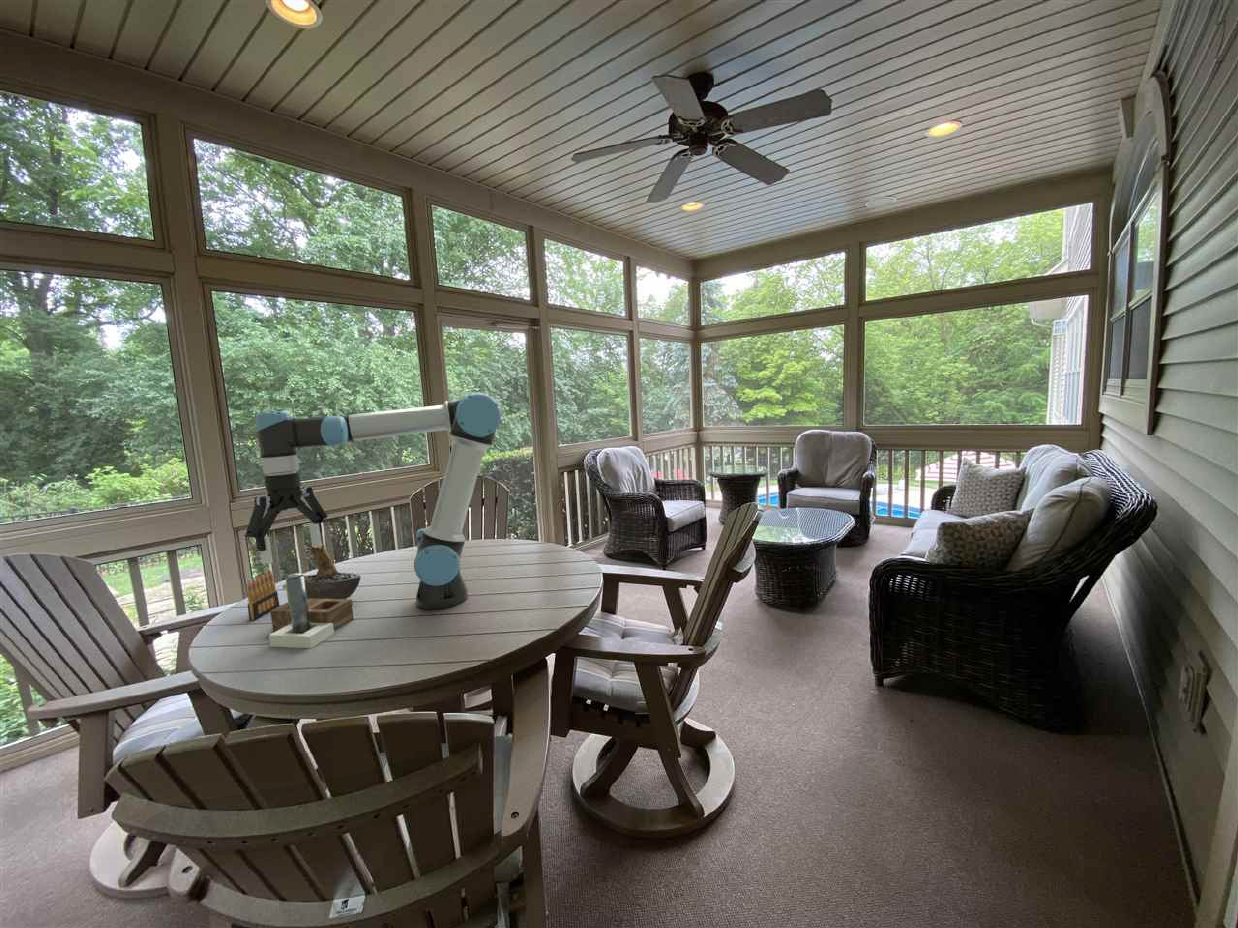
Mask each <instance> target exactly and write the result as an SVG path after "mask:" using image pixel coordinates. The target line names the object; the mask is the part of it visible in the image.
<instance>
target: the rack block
mask: <svg viewBox="0 0 1238 928" xmlns="http://www.w3.org/2000/svg"><path fill="white" fill-rule="evenodd" d="M310 627H311V629H310V630H309V631H307V632H305V633H303V634H293V631H292V623H291V624H289V625H287V626H285V627H283V628H282V629H280V630H278V631H276V632H272V633H270V634H269V635H268V638H269V644H270V645H269V646H270V647H277V648H278V647H279V648H296V649H297V648H299V649H300V648H301V649H302V648H303V649H312V648H314V647H316V646H317V645H318V644H320V643H322V642H323V641H325V640H327V639H328V638H330V637H331V636H333V635H335V631H334V628H333V623H312V622H310Z"/></svg>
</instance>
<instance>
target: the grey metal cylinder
mask: <svg viewBox="0 0 1238 928" xmlns="http://www.w3.org/2000/svg"><path fill="white" fill-rule="evenodd" d="M304 576H305V574H302V572H294V573H293V572H292V573H290V574H288V575H287V577H286V578H285V582H286V583H285V584H287V590H286V593H287V592H288V598H287V601H288V600H289V607H290V615H291V623H292V631H293V634H303V633H305V632H307V631H309V630H310V629H311V627H310V619H309V611H308V603H307V595H306V587H305V579H304Z"/></svg>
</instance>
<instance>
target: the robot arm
mask: <svg viewBox="0 0 1238 928" xmlns="http://www.w3.org/2000/svg"><path fill="white" fill-rule="evenodd" d="M255 421H256V433H257V439H258V445H259V451H260V457H261V463H262V464H261V465H262V470H263V471H262V472H263V474H265V476H264V485H265V487H264V488H265V490H266V492H267V496H255V497H254V507H253V511H252V513H251V517H250V520H249V523H248V525H247V529H246V532H245V537H246V538H253V539H254V540H255V545H256V550H257V551H258V552H260V557H261V563H262V564H268V565H269V564H273V563H274V561H273V554H272V549H271V547H272V546H271V541H270V536H267V534H268V533H269V531H270V528H271V527H272V525H273V524H274V522H275V520H276V518H277V516H278V515H279V514H280V513H281V512H282V511H288V510H289V509H297V511H298V512H300V513H301V514H302V515H303V516H305V518H307V519H308V520H309V521H310V523H308V526H309V531H310V532H309V533H310V540H311V541H310V542H311V546H312V547H317V548H320V547H322V544H323V543H322V536H321V535H322V534H323V530H322V529H323V528H322V523H324V522H325V519H327V518H328V515H327V513H326V511H325V510H324V509H323V506H322V505H321V504H320V502H319V501H318V499H317V498H316V496H315V495H314V490H313V488H312V487H302V488H301V486H302V483H301V474H300V472H298V471H299V469H300V467H299V460H298V454H297V449H303V448H318V447H319V448H320V447H335V446H340V445H346V444H347V443H349V442H356V441H364V440H374V439H381V438H389V437H400V436H408V435H416V434H425V433H433V432H443V431H447V432H448V433H449V437H450V438H451V440H452V441H453V442H452V447H451V452H450V454H449V458H448V461H447V465H446V468H445V472H444V475H443V480H442V481H441V482H442V483H441V486H440V490H439V494H438V498H437V501H436V505H435V508H434V510H433V511H434V513H433V516H432V519H431V523H430V525H429V526H427V527H424V528H423V527H422V528H420V529H418V530H417V531H416V532H415V540H416V555H415V557H414V560H413V569H414V573H415V575H416V577H417V578H418V579H419V583H418V587H417V591H416V594H415V595H416V596H415V602H416V606H417V607H418V608H420V609H424V610H438V609H440V610H441V609H446V608H449V607H454V606H457V605H458V604H459V605H460V604H461V603H463V602H464V601H466V600H467V599H468V597H469V590H468V587H467V585H466V582H465V580H464V578H463V576H462V574H461V557H462V553H463V549H464V545H465V542H466V540H467V539H466V537H465V535H464V534H463V529H464V526H465V522H466V518H467V514H468V510H469V508H470V505H471V500H472V497H473V493H474V489H475V485H476V482H477V478H478V474H479V473H480V472H479V471H480V467H481V464H482V461H483V458H484V457H483V456H484V453H485V451H486V450H487V449H489V448H492V445H493V442H494V439H495V436H496V432H497V429H498V428H499V426H500V424H501V421H502V411H501V407H500V406H499V403H498V401H496V400H495V398H493V397H492V396H491V395H489V394H486V393H481V392H472V393H468V394H466V395H464V396H463V397H461V398H457V399H452V400H445V401H444V402H443V403H442V404H438V405H437V404H436V405H428V406H420V407H411V408H399V409H389V410H382V411H381V410H380V411H372V412H362V413H355V414H354V413H353V414H344V415H343V414H341V415H327V416H315V417H302V418H298V417H297V418H294V417H293V416H292V413H291V412H290V411H288V410H286V411H283V410H282V411H268V412H267V411H265V412H259V413H258V414H257V415H256V417H255ZM302 497H303V498H304V500H305V501H303V499H301V498H302ZM306 503H307V505H306ZM267 505H268V507H267Z"/></svg>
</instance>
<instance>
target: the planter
mask: <svg viewBox="0 0 1238 928" xmlns="http://www.w3.org/2000/svg"><path fill="white" fill-rule="evenodd" d="M310 551H311V553H313V555H314V558H315V560H316V563H317V565H318V566H317V572H316V574H311V575H304V579H305V587H306V595H307V598H311V599H350V597H352V596H353V594H354V593H355V591H356V590H357V588H358V586H359V583H360V581H361V577H362V576H361V574H357V573H353V572H352V573H351V572H340V571H338V569H337V568H336V566H335V564H334V562H333V559H332V558H331V555H330V554H329V552H328V550H327V549H326V548H325V544H324V543H322V547H320V548H317V547H312V545H311V549H310Z"/></svg>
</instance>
